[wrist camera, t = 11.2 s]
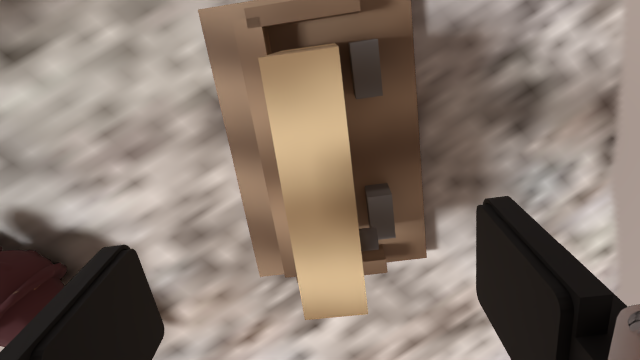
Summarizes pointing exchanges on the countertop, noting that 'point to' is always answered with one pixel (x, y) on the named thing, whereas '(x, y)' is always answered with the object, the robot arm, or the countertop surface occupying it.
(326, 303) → the door panel
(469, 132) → the countertop surface
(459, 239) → the countertop surface
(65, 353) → the robot arm
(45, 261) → the icecream
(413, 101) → the cabinet base
